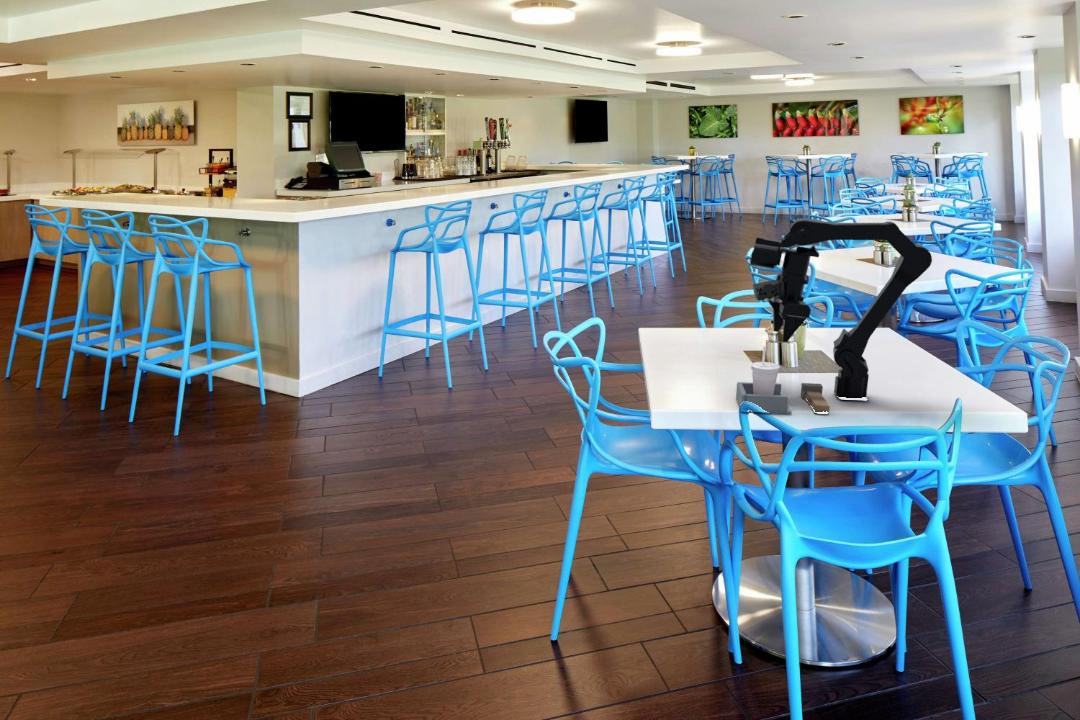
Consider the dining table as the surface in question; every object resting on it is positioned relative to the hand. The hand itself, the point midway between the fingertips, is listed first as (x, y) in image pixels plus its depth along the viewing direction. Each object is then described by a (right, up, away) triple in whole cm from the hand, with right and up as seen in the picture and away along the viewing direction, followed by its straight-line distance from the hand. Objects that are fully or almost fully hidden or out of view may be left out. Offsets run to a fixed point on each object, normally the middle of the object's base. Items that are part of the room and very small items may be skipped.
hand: (780, 336), depth 203 cm
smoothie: (-6, -16, -8) cm, 19 cm away
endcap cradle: (-7, -16, -8) cm, 19 cm away
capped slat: (+6, -16, -8) cm, 19 cm away
